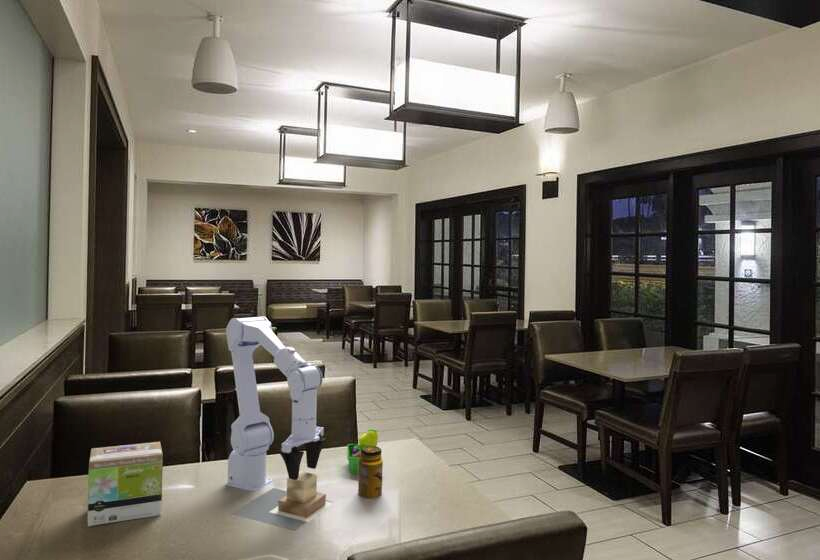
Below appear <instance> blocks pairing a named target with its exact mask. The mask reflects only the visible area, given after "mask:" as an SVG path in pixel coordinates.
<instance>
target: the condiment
mask: <svg viewBox="0 0 820 560" xmlns="http://www.w3.org/2000/svg"><path fill="white" fill-rule="evenodd" d="M383 462H384V461H383V458H382V449H381V448H380V446H366V447H363V448H362V449H361V458H360V460H359V473H358V483H357V484H358V489H357V491H358V495H359V496H360V497H361V498H364V499H375V498H378V497H380V496H381V495H382V493H383V465H384V464H383Z"/></svg>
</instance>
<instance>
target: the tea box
mask: <svg viewBox="0 0 820 560" xmlns="http://www.w3.org/2000/svg"><path fill="white" fill-rule="evenodd" d="M162 449H163V448H162V445H161V441H152V442H142V443H134V444H125V445H115V446H114V445H113V446H106V447H105V446H102V447H93V448H91V449H90V456H89V462H88V483H87V487H88V489H87V490H88V491H87V527H88V528H89V527H93V526H99V525H103V524H109V523H117V522H123V521H129V520H130V521H131V520H137V519H138V520H139V519H143V518H144V519H145V518H150V517H152V518H154V517H159V516H160V517H161V514H162V505H163V503H162V502H163V468H164V467H163V466H164V465H163V463H164V461H163V459H164V454H163V450H162Z"/></svg>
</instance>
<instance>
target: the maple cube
mask: <svg viewBox="0 0 820 560" xmlns="http://www.w3.org/2000/svg"><path fill="white" fill-rule="evenodd" d="M317 476H318V475H317V474H315V473H311V472H306V471H302V470H299V476H298V479H297V480H293V479H289V476H288V477H287V478H286V491H287V499H290V500H294V501H298V502H302V503H305V502H307V501H308V500H310V499H311V498H313V497H314V496H316V492H317V490H318V489H317V486H318V483H317V481H318V479H317V478H318V477H317Z"/></svg>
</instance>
